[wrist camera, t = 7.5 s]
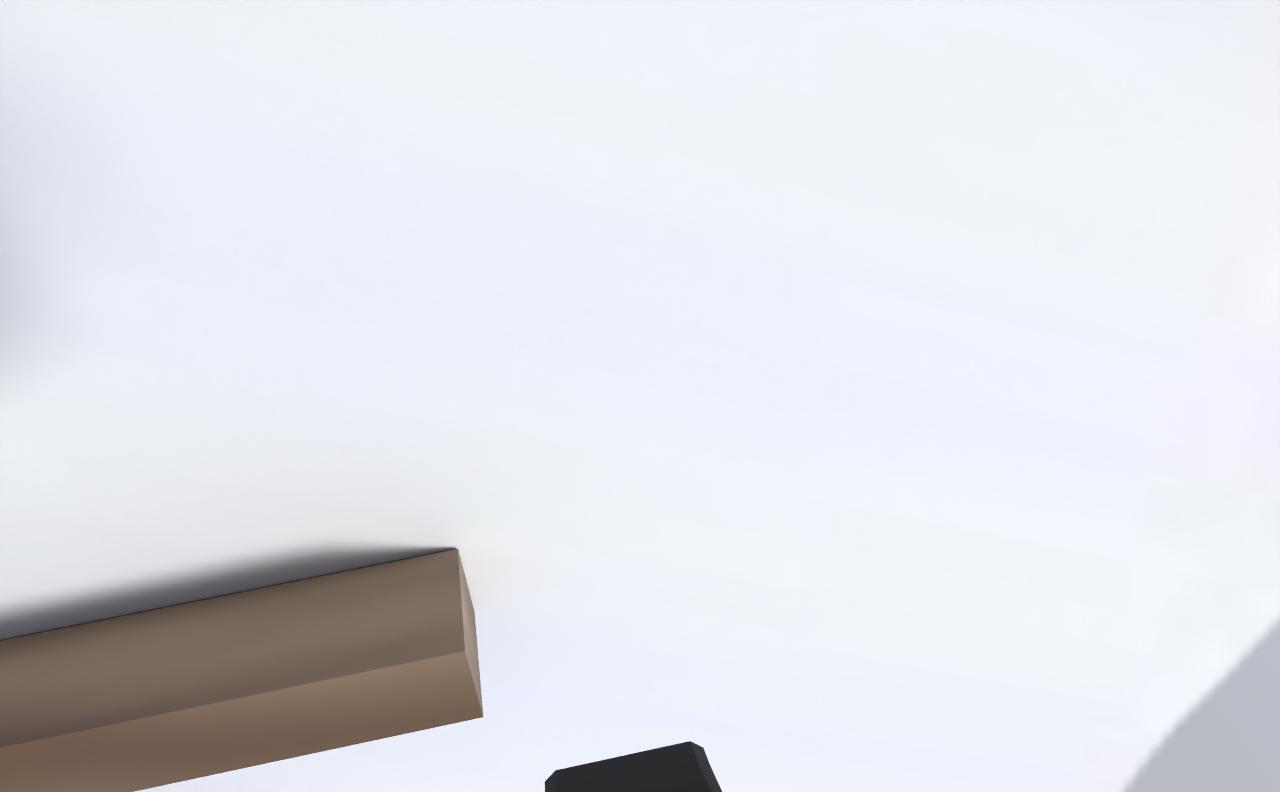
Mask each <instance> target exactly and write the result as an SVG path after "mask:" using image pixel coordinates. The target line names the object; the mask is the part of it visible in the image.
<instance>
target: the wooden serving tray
mask: <svg viewBox="0 0 1280 792" xmlns="http://www.w3.org/2000/svg"><path fill="white" fill-rule="evenodd" d="M481 717H483V709H482V697H481V685H480V673H479V661H478V650H477V638H476V626H475V614H474V609H473V605H472V601H471V598H470V594H469V590H468V586H467V582H466V578H465V575H464V571H463V567H462V563H461V559H460V555H459V551H458V549H454V550H449V551H444V552H439V553H434V554H429V555H424V556H419V557H414V558H409V559H404V560H399V561H394V562H390V563H385V564H380V565H375V566H370V567H365V568H360V569H355V570H350V571H345V572H340V573H335V574H330V575H325V576H320V577H315V578H310V579H305V580H300V581H295V582H290V583H285V584H280V585H275V586H270V587H265V588H260V589H255V590H250V591H245V592H240V593H236V594H231V595H226V596H221V597H216V598H211V599H206V600H201V601H196V602H191V603H186V604H181V605H176V606H171V607H166V608H161V609H156V610H151V611H146V612H141V613H136V614H131V615H126V616H121V617H116V618H111V619H106V620H101V621H96V622H91V623H86V624H82V625H77V626H72V627H67V628H62V629H57V630H52V631H47V632H42V633H37V634H32V635H27V636H22V637H17V638H12V639H7V640H2V641H0V792H134V791H138V790H143V789H148V788H152V787H157V786H162V785H166V784H171V783H176V782H180V781H185V780H190V779H195V778H199V777H204V776H209V775H213V774H218V773H223V772H227V771H232V770H237V769H242V768H246V767H251V766H256V765H260V764H265V763H270V762H274V761H279V760H284V759H288V758H293V757H298V756H303V755H307V754H312V753H317V752H321V751H326V750H331V749H335V748H340V747H345V746H350V745H354V744H359V743H364V742H368V741H373V740H378V739H382V738H387V737H392V736H396V735H401V734H406V733H411V732H415V731H420V730H425V729H429V728H434V727H439V726H443V725H448V724H453V723H458V722H462V721H467V720H472V719H476V718H481Z"/></svg>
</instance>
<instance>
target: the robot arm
mask: <svg viewBox="0 0 1280 792" xmlns="http://www.w3.org/2000/svg"><path fill="white" fill-rule="evenodd" d="M545 792H722V791H721V788H720V786H719V784H718V782H717V780H716V778H715V775H714V773H713V771H712V769H711V766H710V764H709V762H708V759H707V756H706V754H705V751H704V748H703V747H701V746H699V745H697V744H695V743H693V742H691V741H689V742H684V743H680V744H675V745H671V746H666V747H661V748H657V749H652V750H648V751H643V752H638V753H634V754H629V755H625V756H620V757H615V758H611V759H606V760H602V761H597V762H592V763H588V764H583V765H579V766H574V767H569V768H565V769H560V770H556V771H555V772H554V773H553V774H552V775H551V776H550V777H549V778H548V779H547V780H546V781H545Z"/></svg>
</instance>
